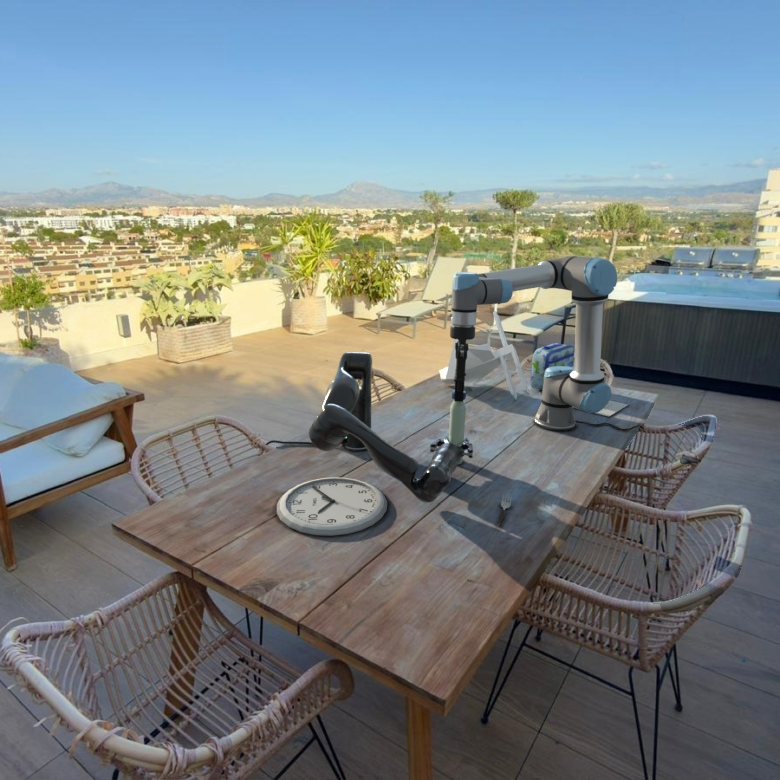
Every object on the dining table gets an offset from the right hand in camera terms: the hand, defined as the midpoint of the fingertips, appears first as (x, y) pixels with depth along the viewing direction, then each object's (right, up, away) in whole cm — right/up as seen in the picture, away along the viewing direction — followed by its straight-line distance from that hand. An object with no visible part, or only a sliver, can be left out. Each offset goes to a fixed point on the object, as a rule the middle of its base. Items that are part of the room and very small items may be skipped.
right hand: (458, 398), depth 165 cm
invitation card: (+70, -5, +62) cm, 93 cm away
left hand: (+1, -14, +7) cm, 15 cm away
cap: (0, +2, -1) cm, 2 cm away
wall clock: (-37, -29, -22) cm, 52 cm away
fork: (+9, -31, -25) cm, 40 cm away
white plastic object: (+20, +2, +79) cm, 81 cm away
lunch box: (+56, +4, +88) cm, 105 cm away
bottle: (0, -21, +7) cm, 22 cm away
